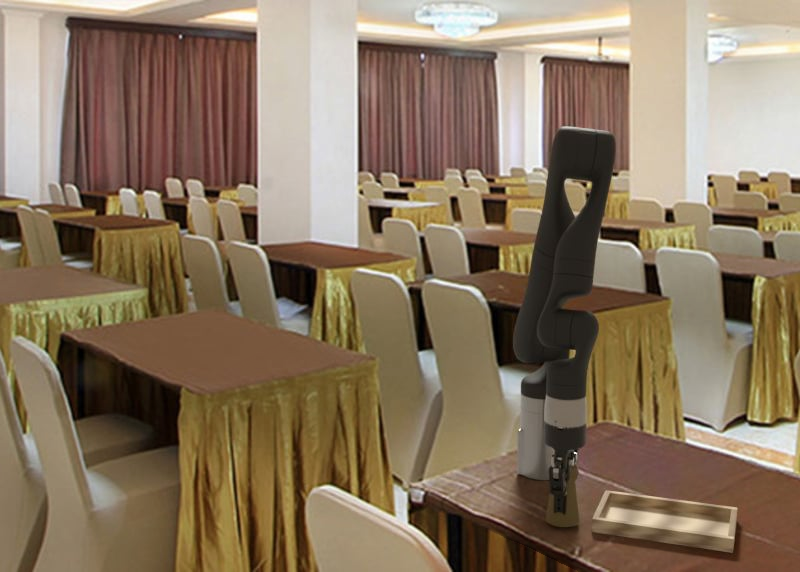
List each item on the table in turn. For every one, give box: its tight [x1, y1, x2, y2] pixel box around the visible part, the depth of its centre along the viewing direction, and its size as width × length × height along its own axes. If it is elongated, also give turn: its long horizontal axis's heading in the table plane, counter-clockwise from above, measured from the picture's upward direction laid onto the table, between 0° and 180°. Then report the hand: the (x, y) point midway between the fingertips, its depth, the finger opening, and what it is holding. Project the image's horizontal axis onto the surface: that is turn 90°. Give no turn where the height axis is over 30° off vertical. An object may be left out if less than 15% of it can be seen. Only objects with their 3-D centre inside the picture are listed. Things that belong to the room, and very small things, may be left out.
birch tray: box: [591, 489, 738, 554], centre depth 173 cm, size 24×14×2 cm, turn 69°
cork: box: [545, 464, 580, 528], centre depth 173 cm, size 6×6×11 cm
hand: (562, 508), depth 174 cm, fingers closed on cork, 4 cm apart
